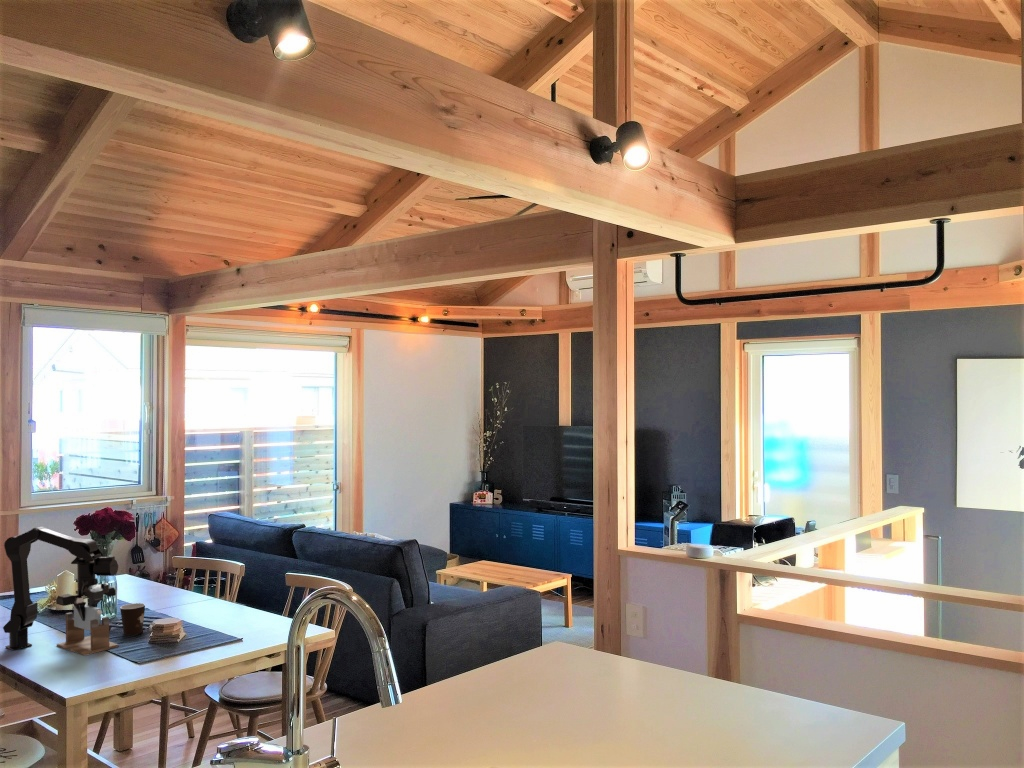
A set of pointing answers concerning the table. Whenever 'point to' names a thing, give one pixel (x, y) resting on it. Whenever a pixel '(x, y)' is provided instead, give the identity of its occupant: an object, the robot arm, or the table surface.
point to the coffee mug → (132, 618)
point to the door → (87, 617)
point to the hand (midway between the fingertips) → (86, 619)
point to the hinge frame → (89, 643)
